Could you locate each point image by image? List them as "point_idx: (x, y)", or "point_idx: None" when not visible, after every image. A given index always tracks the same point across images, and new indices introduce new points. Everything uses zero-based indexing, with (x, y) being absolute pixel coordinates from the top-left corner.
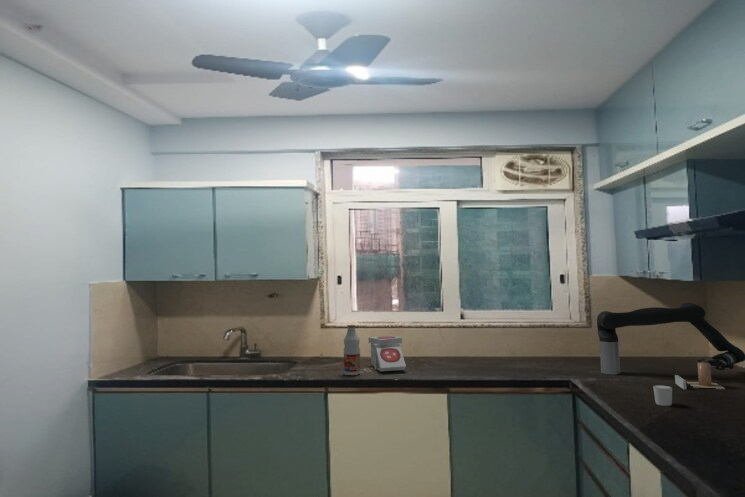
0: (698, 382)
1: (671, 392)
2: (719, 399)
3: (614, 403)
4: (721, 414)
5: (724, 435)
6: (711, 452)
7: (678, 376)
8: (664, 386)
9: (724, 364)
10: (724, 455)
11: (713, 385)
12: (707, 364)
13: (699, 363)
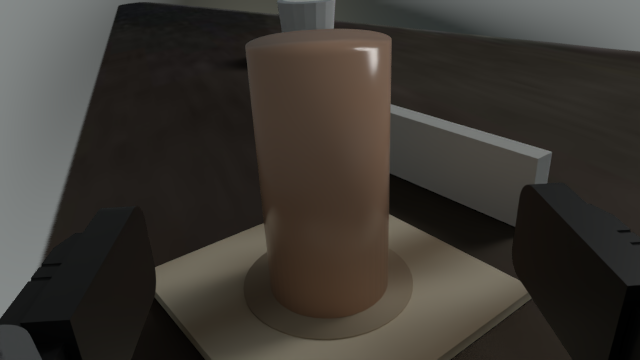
0: (433, 324)
1: (279, 15)
2: (161, 130)
3: (399, 33)
4: (143, 67)
5: (132, 33)
6: (148, 16)
7: (491, 139)
8: (306, 1)
9: (39, 317)
10: (131, 17)
11: (254, 294)
12: (263, 39)
13: (347, 30)
